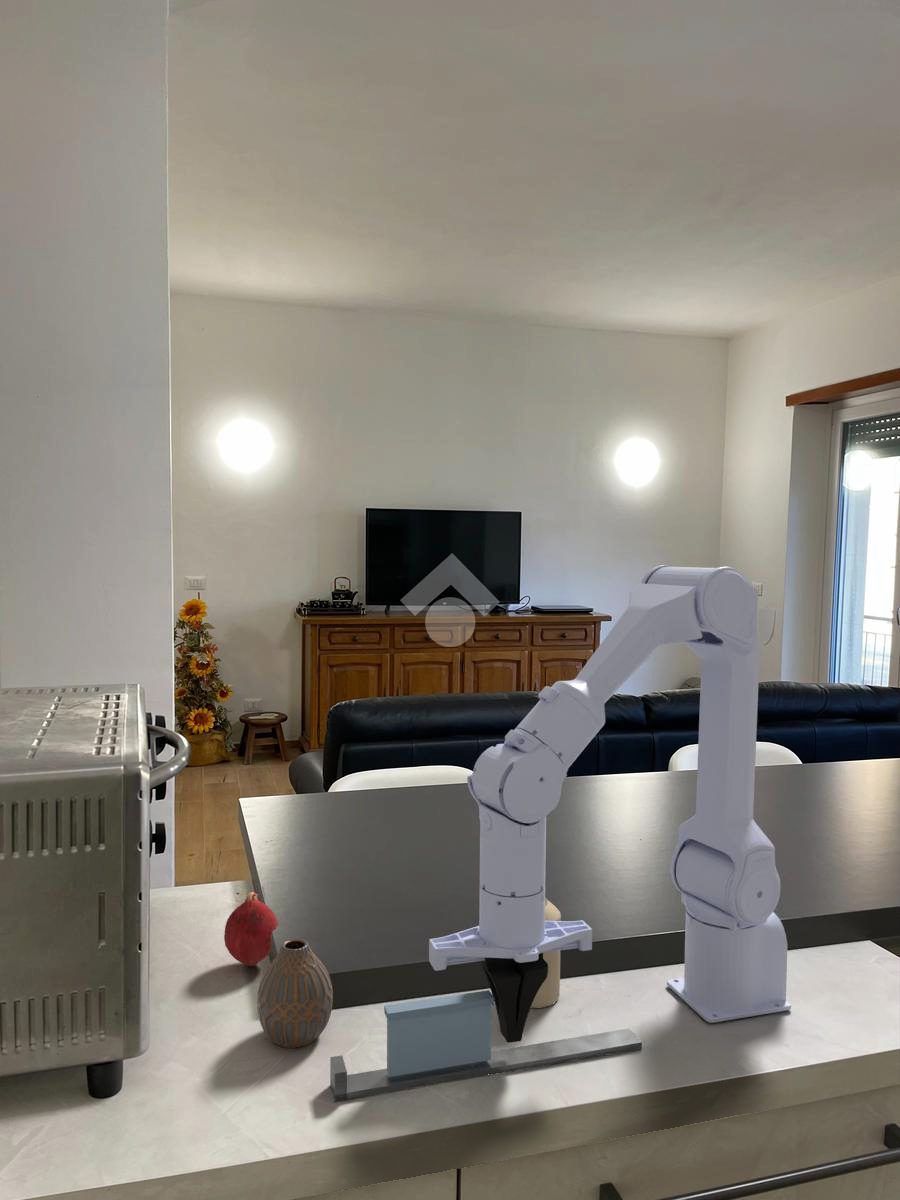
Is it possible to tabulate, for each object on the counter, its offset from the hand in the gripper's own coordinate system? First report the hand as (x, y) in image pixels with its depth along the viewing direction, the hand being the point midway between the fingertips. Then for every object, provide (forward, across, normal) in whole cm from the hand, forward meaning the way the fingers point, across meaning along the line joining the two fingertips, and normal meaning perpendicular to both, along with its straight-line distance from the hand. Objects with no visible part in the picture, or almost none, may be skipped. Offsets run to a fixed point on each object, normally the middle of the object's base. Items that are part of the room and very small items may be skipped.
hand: (510, 1036), depth 77 cm
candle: (+3, +6, +10) cm, 13 cm away
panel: (+2, -6, 0) cm, 7 cm away
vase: (+3, -18, +10) cm, 20 cm away
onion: (+3, -21, +24) cm, 32 cm away
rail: (+2, -2, 0) cm, 3 cm away
